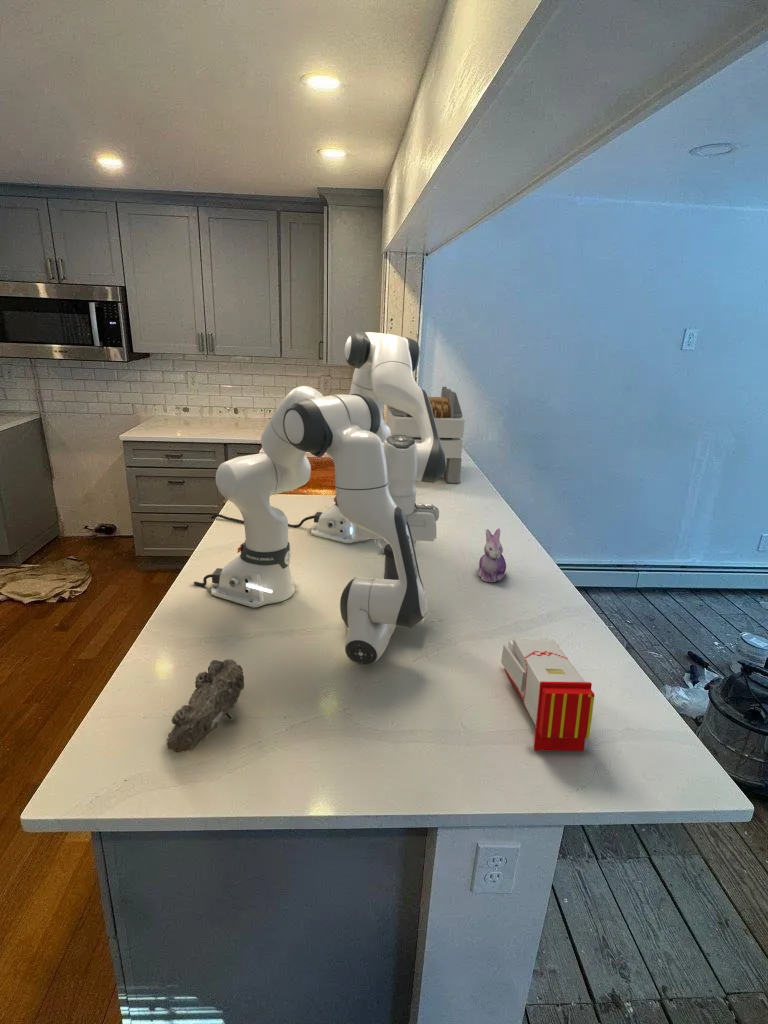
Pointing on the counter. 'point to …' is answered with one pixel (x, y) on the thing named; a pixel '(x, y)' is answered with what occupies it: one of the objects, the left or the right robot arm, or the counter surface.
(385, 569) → the dark grey long cylinder
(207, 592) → the counter surface
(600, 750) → the counter surface
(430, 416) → the right robot arm
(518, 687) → the toy
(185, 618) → the counter surface
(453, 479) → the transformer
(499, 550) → the figurine
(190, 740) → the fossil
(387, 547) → the lid
